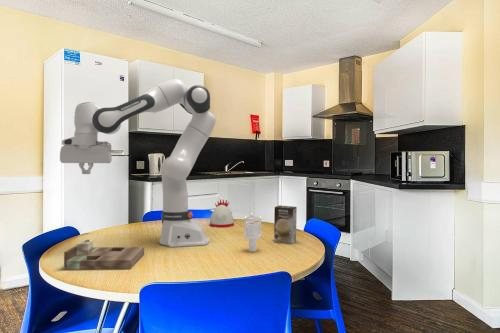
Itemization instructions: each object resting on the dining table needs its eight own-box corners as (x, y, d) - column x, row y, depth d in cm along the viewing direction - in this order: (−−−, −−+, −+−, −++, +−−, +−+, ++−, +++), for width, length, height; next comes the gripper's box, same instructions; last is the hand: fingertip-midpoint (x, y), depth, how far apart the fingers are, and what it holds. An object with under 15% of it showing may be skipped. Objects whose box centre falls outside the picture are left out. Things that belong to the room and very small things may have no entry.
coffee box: (273, 242, 155) (273, 206, 155) (278, 239, 161) (278, 205, 160) (292, 244, 151) (292, 208, 151) (296, 241, 157) (297, 206, 156)
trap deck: (144, 254, 133) (144, 239, 133) (130, 269, 115) (130, 251, 115) (86, 255, 132) (86, 239, 132) (64, 270, 114) (64, 252, 114)
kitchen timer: (233, 227, 188) (233, 200, 188) (208, 227, 188) (208, 200, 188) (234, 223, 202) (234, 198, 202) (211, 223, 202) (211, 197, 202)
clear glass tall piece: (259, 248, 144) (259, 212, 144) (262, 252, 137) (262, 215, 137) (242, 248, 143) (243, 213, 142) (245, 253, 136) (245, 215, 136)
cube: (92, 252, 125) (92, 241, 125) (88, 255, 121) (88, 244, 121) (81, 252, 125) (81, 241, 125) (76, 255, 121) (76, 244, 121)
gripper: (113, 141, 147) (113, 173, 147) (65, 141, 146) (65, 173, 146) (108, 141, 140) (108, 174, 141) (57, 140, 139) (57, 174, 139)
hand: (86, 174), depth 143 cm, fingers closed
